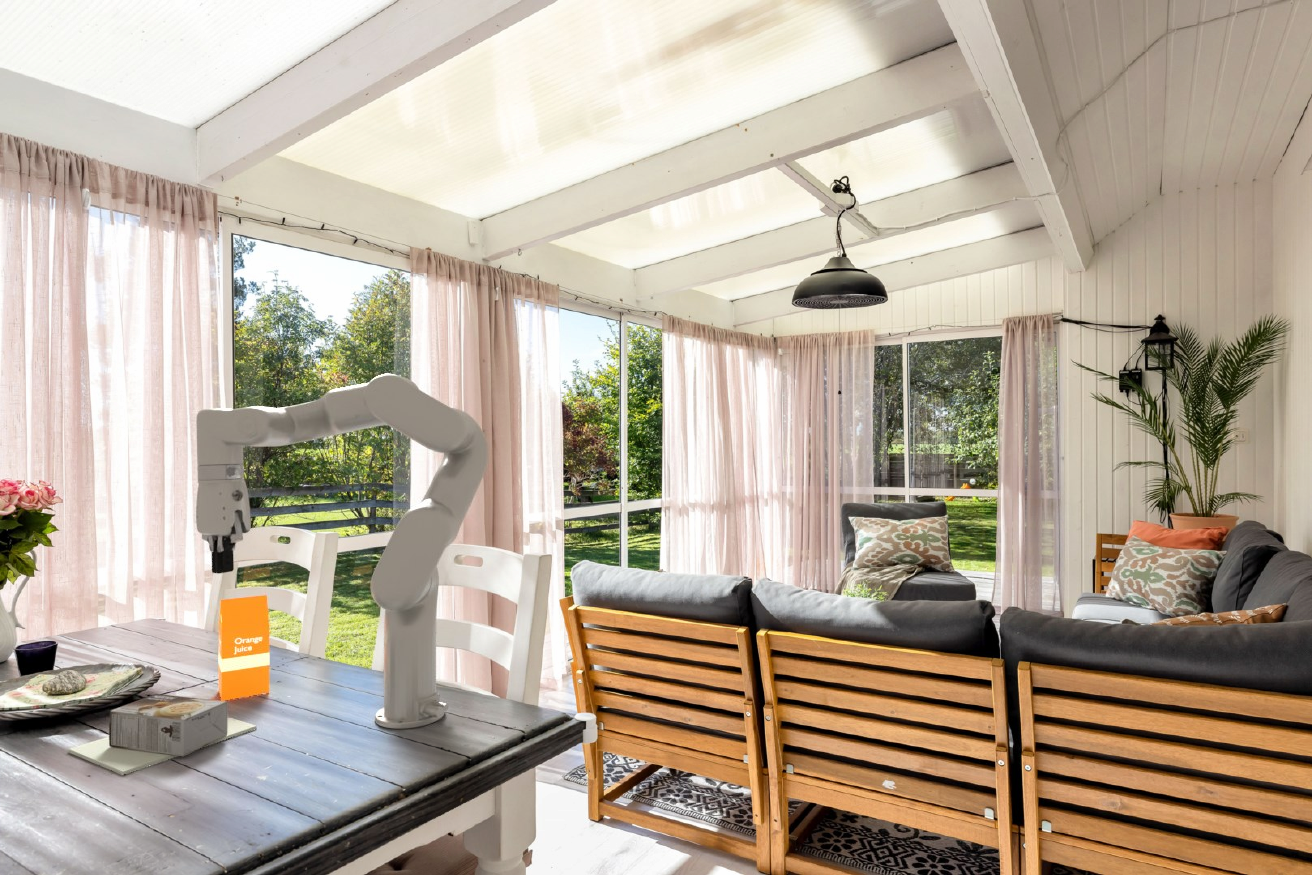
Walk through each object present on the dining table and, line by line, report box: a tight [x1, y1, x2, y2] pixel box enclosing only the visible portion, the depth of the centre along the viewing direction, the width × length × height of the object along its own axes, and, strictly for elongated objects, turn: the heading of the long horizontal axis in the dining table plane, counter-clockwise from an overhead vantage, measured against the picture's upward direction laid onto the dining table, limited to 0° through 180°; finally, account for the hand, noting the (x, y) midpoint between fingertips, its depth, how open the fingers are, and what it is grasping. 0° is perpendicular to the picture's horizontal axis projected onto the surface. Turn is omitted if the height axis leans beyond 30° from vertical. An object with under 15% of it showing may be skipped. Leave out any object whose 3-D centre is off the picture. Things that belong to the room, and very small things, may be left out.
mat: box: [67, 716, 258, 776], centre depth 132 cm, size 18×22×1 cm
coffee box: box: [108, 693, 229, 757], centre depth 130 cm, size 9×6×16 cm
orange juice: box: [217, 594, 271, 701], centre depth 158 cm, size 8×9×20 cm
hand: (222, 571), depth 141 cm, fingers closed
